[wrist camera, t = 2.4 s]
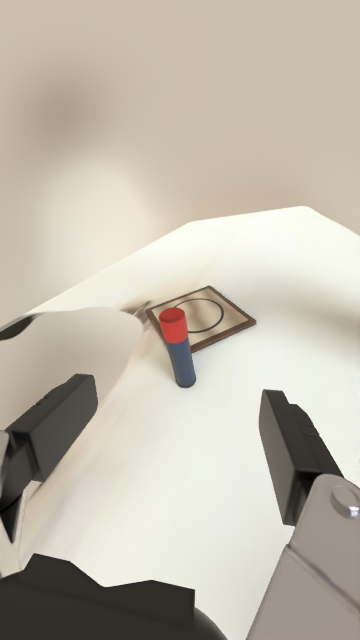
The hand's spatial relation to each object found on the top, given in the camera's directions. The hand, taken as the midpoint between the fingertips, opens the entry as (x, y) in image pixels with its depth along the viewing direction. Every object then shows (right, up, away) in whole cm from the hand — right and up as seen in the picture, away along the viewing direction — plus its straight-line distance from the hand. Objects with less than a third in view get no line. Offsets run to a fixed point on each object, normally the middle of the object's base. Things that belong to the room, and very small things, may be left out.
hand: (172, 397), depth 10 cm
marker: (+1, -5, +21) cm, 21 cm away
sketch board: (+4, +4, +32) cm, 32 cm away
